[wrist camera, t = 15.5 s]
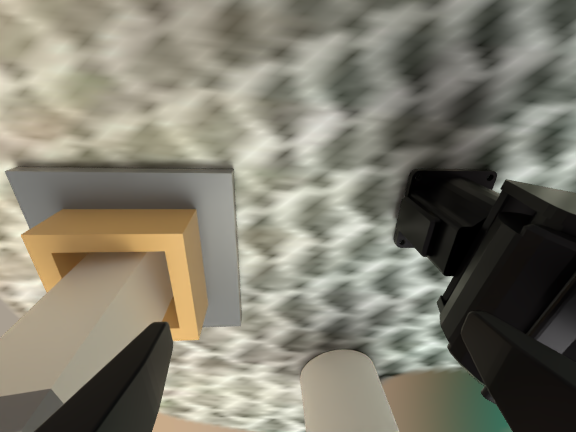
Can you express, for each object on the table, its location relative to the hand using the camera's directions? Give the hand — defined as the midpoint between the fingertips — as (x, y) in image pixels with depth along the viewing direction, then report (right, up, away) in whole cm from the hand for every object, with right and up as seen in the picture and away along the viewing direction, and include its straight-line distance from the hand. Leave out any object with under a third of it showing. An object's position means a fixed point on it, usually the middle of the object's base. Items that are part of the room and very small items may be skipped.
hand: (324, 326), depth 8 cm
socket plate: (-12, 0, +13) cm, 18 cm away
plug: (-12, 0, +13) cm, 17 cm away
